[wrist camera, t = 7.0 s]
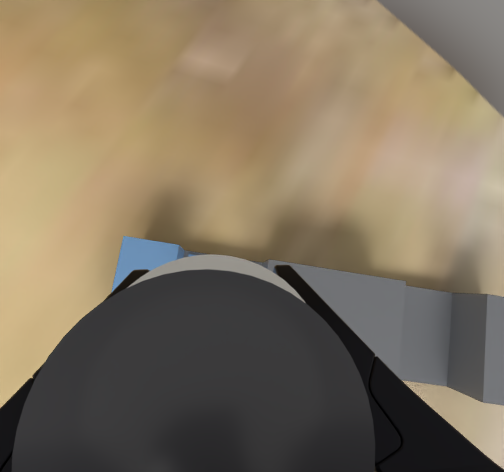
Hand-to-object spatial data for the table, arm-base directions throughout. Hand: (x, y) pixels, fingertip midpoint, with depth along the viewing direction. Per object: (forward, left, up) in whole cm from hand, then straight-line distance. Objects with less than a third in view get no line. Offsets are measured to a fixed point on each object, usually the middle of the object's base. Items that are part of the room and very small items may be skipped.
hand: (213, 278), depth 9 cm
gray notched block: (+4, -6, -13) cm, 15 cm away
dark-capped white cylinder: (-1, -1, -7) cm, 7 cm away
